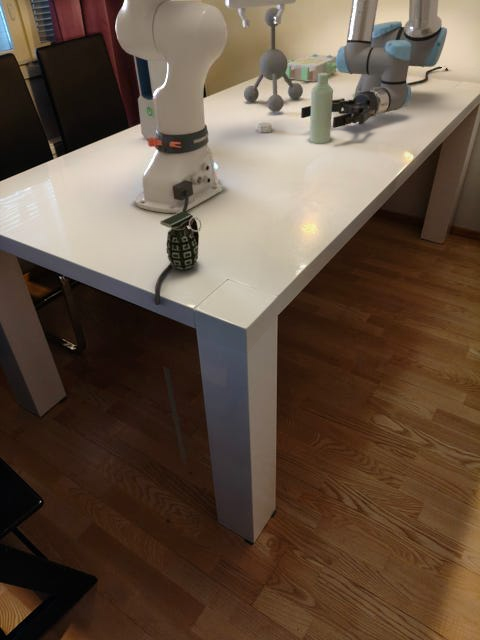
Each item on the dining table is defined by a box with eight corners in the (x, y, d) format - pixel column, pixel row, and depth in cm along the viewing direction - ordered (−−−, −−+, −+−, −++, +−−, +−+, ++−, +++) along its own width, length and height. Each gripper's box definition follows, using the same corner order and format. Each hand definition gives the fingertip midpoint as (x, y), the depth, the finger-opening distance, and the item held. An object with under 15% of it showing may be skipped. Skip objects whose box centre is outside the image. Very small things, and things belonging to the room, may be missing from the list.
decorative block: (305, 52, 220) (345, 55, 211) (304, 68, 224) (344, 71, 215) (274, 63, 204) (317, 66, 195) (274, 80, 208) (316, 84, 199)
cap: (256, 129, 156) (256, 123, 154) (269, 127, 156) (269, 121, 155) (260, 133, 152) (260, 126, 151) (272, 131, 153) (272, 125, 152)
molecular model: (322, 103, 175) (328, 5, 157) (274, 116, 166) (273, 12, 147) (282, 92, 191) (282, 1, 172) (235, 103, 181) (230, 8, 163)
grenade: (182, 278, 88) (175, 228, 82) (162, 268, 91) (153, 219, 85) (208, 263, 92) (203, 214, 85) (187, 253, 95) (181, 205, 89)
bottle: (333, 138, 145) (338, 72, 134) (323, 144, 141) (327, 77, 130) (315, 135, 148) (318, 70, 137) (305, 141, 144) (308, 75, 133)
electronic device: (141, 137, 154) (123, 28, 136) (159, 131, 158) (144, 24, 140) (166, 145, 147) (151, 30, 129) (185, 138, 151) (172, 26, 133)
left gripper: (227, -33, 123) (230, 30, 132) (300, -38, 128) (299, 23, 137) (219, -33, 128) (223, 28, 136) (290, -39, 133) (289, 20, 141)
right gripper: (399, 125, 143) (347, 141, 134) (340, 108, 160) (289, 122, 151) (403, 98, 138) (349, 112, 130) (342, 84, 155) (290, 96, 146)
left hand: (261, 25), depth 137 cm, fingers open, 8 cm apart
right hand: (317, 117), depth 140 cm, fingers open, 13 cm apart
